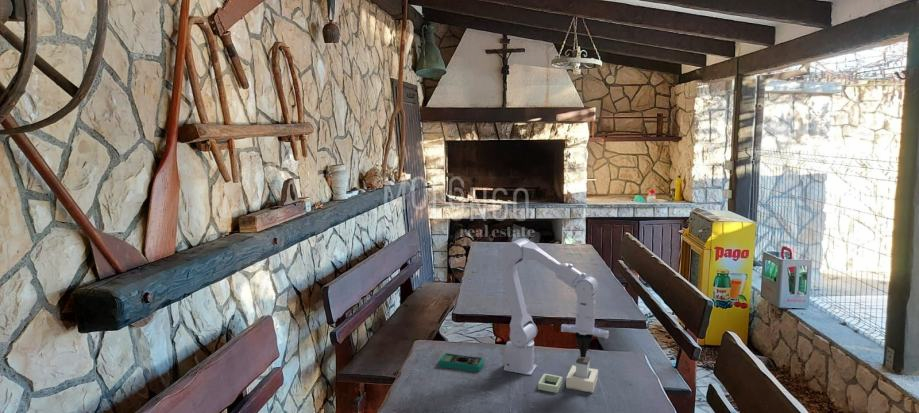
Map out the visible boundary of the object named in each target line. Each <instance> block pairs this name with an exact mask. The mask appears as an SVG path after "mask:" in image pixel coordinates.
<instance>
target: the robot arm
mask: <svg viewBox="0 0 919 413" xmlns="http://www.w3.org/2000/svg"><path fill="white" fill-rule="evenodd" d="M501 254H502V255H501V259H500V264H499V270H500V273H501V278H502V281H503V285H504V290H505V293H506V298H507V302H508V306H509V307H508V308H509V310H510V315H511V320H510V323H509V329H510V330H509V341H506V344H505V349H504V364H503V366H504V368H503V371H504V372H505V371H506V372H512V373H518V374H522V375H528V376H531V375H533V373H534V371H535V369H536V368H537V366H538V365H537V364H536V363H534V359H535V355H534V354H535V341H534V340H535V339H534V338H536V336H537V335H538V326H537V325H536V323H534V320H533V316H532V315H530V314H529V313H528V309H527V306H526V301H525V297H524V293H523V289H522V284H521V280H520V277H519V271H518V267H519V265H520V264H521V263H522V262H523V261H535V262H536V263H539V264H540V265H542V266H543V267H545V268H547V269H549V270H550V271H552V272H554V274H555V277H556V279H558V280H559V281H561V282H563V284H565V285H567V286H568V287H570V288H571V289H573V290H574V293H575V294H576V312H575V324H565V323H563V324H561V326H560V332H562V333H565V332H566V333H573V334H575V335H574V339H575V341H576V343H577V347H578V349H579V355H581V357H584V358H585V357H586V356H587V352H588V349H589V346H590V343H591V341H592V340H593V338H594V337H599V338H604V339H606V340H607V339H609V333H610V332H609V331H610V330H606V329H603V328H599V327H595V320H596V319H595V318H596V317H595V316H596V296H597V295H596V294H597V293H596V292H597V291H598V289H599V286H600V285H599V282H598V281H599V280H597V278H596V277H594V275H592V274H591V275H590V274H587V273H585V272H582V271H580V270H578V269H577V268H575V267H574V264H573V263H567V262H564V263H561V262H559V261H558V260H557V259H555V258H554V257H553V256H551V255H550V254H549V253H547V252H546V251H545V250H543V249H542V248H540V247H539V246H538V245H537V244H536V243H535V242H533V241H531V240H530V239H528V238H526V237H520V238H518V239H516V240H514V241H511V242H508V243H507V244H505V246H504V247H503V248H502V250H501Z"/></svg>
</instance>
